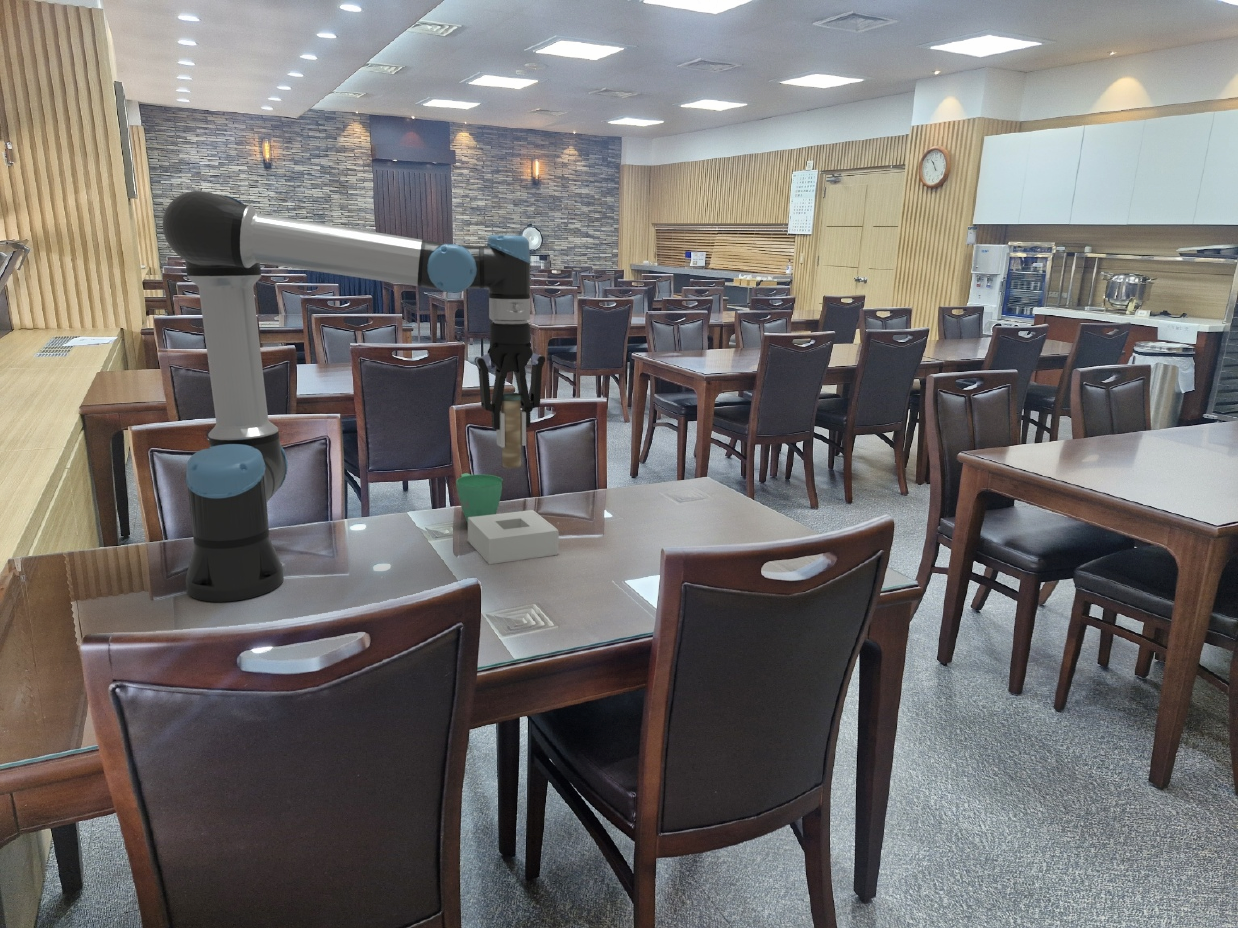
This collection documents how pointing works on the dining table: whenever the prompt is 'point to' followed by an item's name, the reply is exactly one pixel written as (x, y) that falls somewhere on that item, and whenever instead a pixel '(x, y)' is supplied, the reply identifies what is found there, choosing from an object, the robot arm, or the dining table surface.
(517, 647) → the dining table surface
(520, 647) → the dining table surface
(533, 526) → the socket block
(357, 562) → the dining table surface
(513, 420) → the peg
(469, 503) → the mug
